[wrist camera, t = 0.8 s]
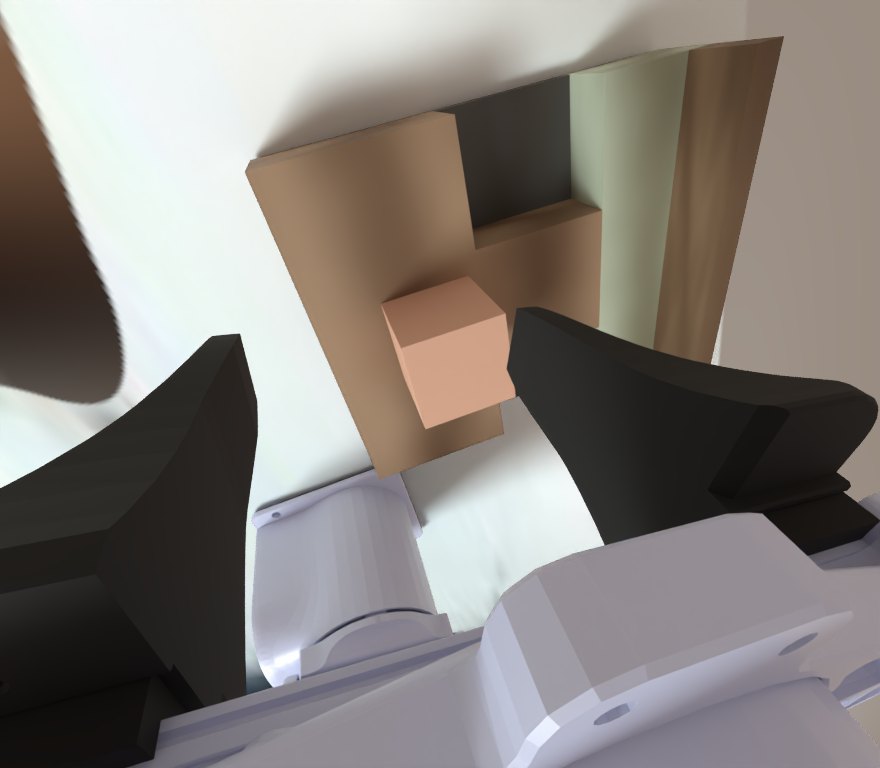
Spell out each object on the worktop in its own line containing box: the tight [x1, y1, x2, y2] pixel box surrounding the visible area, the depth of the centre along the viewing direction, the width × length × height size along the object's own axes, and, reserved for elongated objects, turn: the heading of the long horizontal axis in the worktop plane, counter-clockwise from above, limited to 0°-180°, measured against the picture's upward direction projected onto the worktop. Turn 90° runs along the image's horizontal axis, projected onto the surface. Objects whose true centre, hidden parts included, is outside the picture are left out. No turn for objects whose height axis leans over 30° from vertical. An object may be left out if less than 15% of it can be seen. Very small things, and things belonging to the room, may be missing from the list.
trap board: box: [245, 36, 784, 479], centre depth 20 cm, size 18×16×6 cm
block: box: [381, 276, 516, 429], centre depth 18 cm, size 4×4×4 cm
